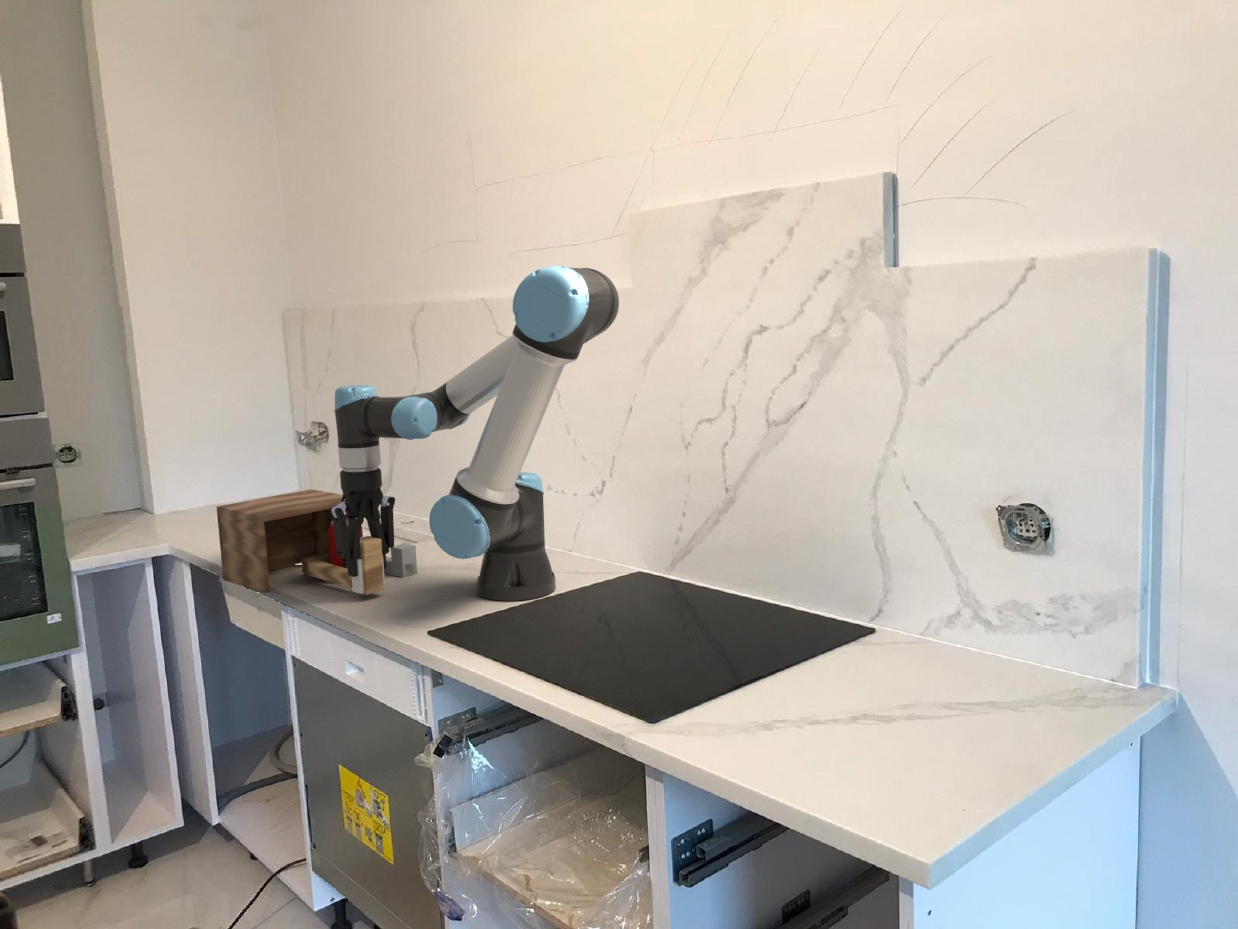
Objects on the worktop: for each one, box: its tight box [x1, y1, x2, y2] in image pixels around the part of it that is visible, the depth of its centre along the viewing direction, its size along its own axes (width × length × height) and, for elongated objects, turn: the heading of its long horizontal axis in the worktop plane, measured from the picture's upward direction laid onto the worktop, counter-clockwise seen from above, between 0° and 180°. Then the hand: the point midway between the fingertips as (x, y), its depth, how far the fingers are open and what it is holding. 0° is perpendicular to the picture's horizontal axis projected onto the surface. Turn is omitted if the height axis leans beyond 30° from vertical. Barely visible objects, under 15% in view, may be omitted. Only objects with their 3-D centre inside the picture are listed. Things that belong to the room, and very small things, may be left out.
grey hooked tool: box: [384, 542, 418, 578], centre depth 209 cm, size 14×4×6 cm, turn 50°
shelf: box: [216, 488, 357, 594], centre depth 208 cm, size 16×22×16 cm
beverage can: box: [328, 519, 364, 569], centre depth 203 cm, size 7×7×12 cm
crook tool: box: [301, 535, 385, 596], centre depth 197 cm, size 22×10×10 cm, turn 51°
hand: (368, 589), depth 190 cm, fingers closed on crook tool, 4 cm apart
